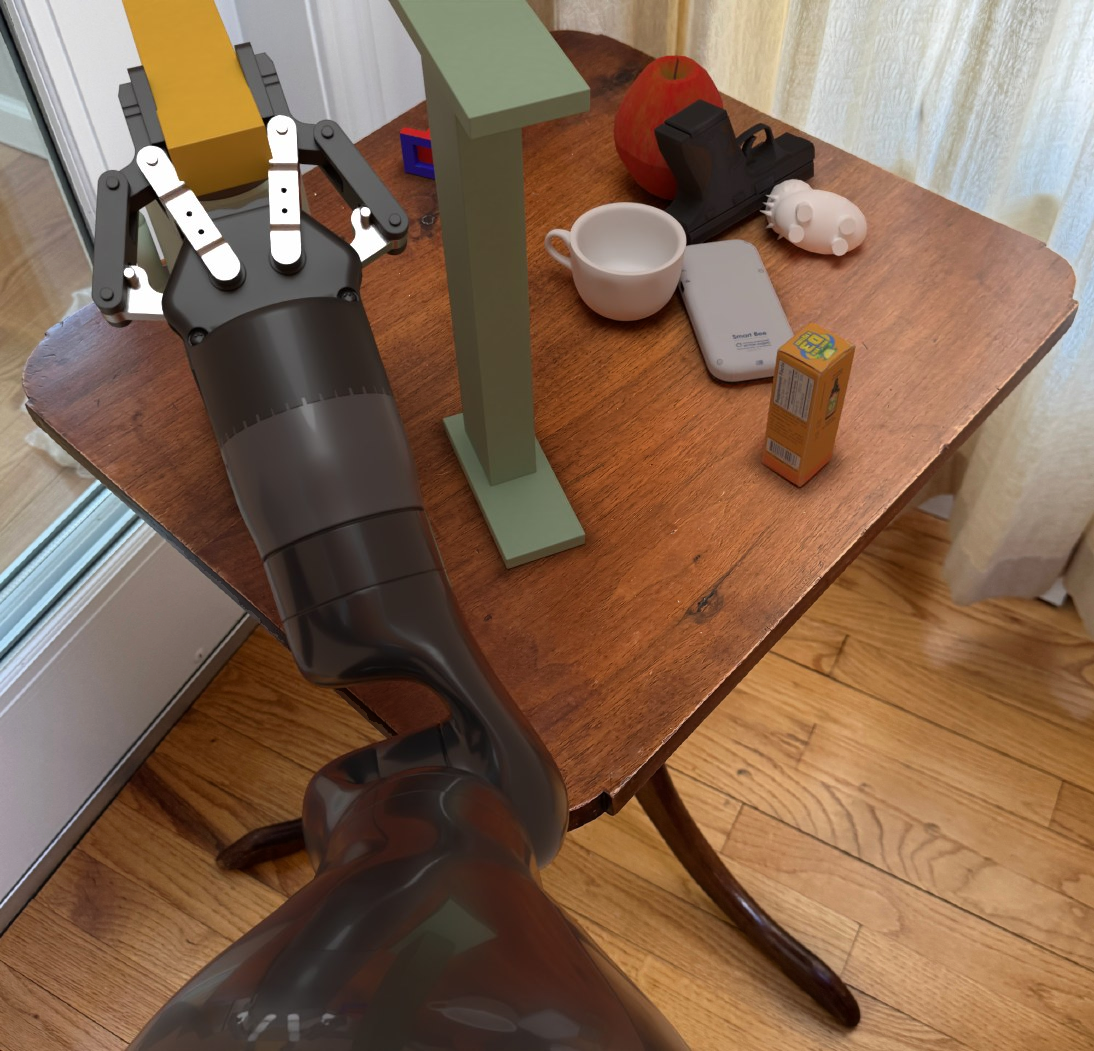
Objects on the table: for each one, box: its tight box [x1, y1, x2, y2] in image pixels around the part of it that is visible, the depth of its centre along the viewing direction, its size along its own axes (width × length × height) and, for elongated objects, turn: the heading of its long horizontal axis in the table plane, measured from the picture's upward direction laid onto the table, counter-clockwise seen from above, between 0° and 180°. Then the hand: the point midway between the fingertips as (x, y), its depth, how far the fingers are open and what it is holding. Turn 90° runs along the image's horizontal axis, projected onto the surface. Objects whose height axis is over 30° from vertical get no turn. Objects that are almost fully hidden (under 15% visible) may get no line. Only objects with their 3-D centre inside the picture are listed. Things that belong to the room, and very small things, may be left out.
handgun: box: [654, 99, 816, 246], centre depth 82 cm, size 3×14×10 cm, turn 128°
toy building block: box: [399, 125, 435, 180], centre depth 89 cm, size 4×4×8 cm
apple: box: [612, 54, 725, 201], centre depth 84 cm, size 8×8×11 cm
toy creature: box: [760, 179, 868, 257], centre depth 83 cm, size 5×8×6 cm
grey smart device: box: [677, 239, 795, 385], centre depth 78 cm, size 6×13×2 cm, turn 10°
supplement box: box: [761, 322, 856, 488], centre depth 67 cm, size 3×3×10 cm
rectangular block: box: [121, 0, 273, 197], centre depth 52 cm, size 4×18×2 cm, turn 21°
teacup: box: [543, 201, 686, 322], centre depth 79 cm, size 10×8×5 cm
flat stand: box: [387, 0, 591, 570], centre depth 59 cm, size 5×12×30 cm, turn 21°
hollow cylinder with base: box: [137, 169, 312, 428], centre depth 65 cm, size 10×9×21 cm
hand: (191, 66), depth 49 cm, fingers closed on rectangular block, 4 cm apart
